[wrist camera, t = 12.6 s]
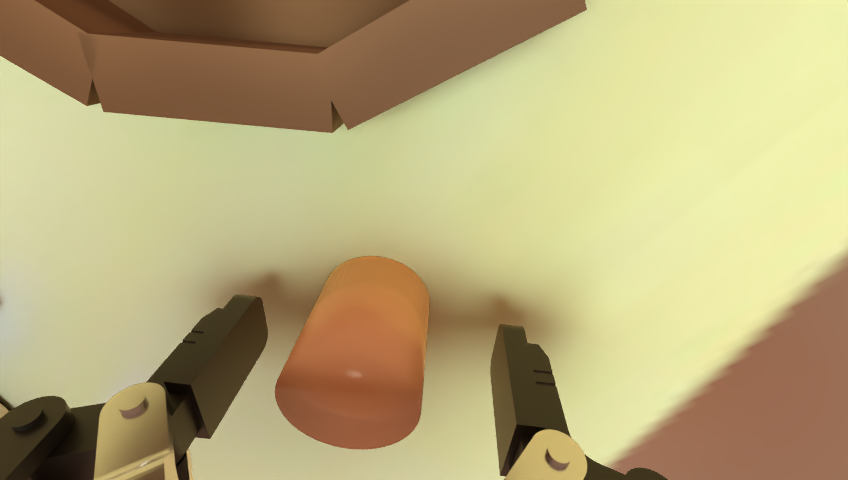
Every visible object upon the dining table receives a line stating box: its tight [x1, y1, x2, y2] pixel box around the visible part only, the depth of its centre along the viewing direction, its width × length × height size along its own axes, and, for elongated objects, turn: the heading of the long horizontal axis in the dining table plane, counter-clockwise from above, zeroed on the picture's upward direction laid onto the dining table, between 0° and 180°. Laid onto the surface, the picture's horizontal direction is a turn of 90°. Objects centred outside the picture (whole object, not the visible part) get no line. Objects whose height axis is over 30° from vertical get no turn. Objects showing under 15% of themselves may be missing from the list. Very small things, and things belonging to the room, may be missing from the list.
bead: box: [275, 256, 430, 449], centre depth 12 cm, size 4×4×4 cm
